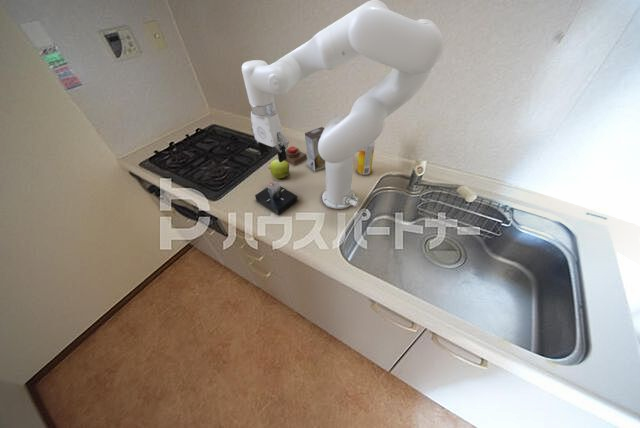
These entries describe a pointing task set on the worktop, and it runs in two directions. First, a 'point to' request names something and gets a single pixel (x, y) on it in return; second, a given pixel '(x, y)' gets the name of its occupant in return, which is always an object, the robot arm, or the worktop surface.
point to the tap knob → (274, 190)
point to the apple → (279, 168)
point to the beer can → (365, 159)
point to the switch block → (295, 157)
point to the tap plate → (276, 200)
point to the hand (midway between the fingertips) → (273, 156)
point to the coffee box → (314, 149)
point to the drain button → (292, 149)
